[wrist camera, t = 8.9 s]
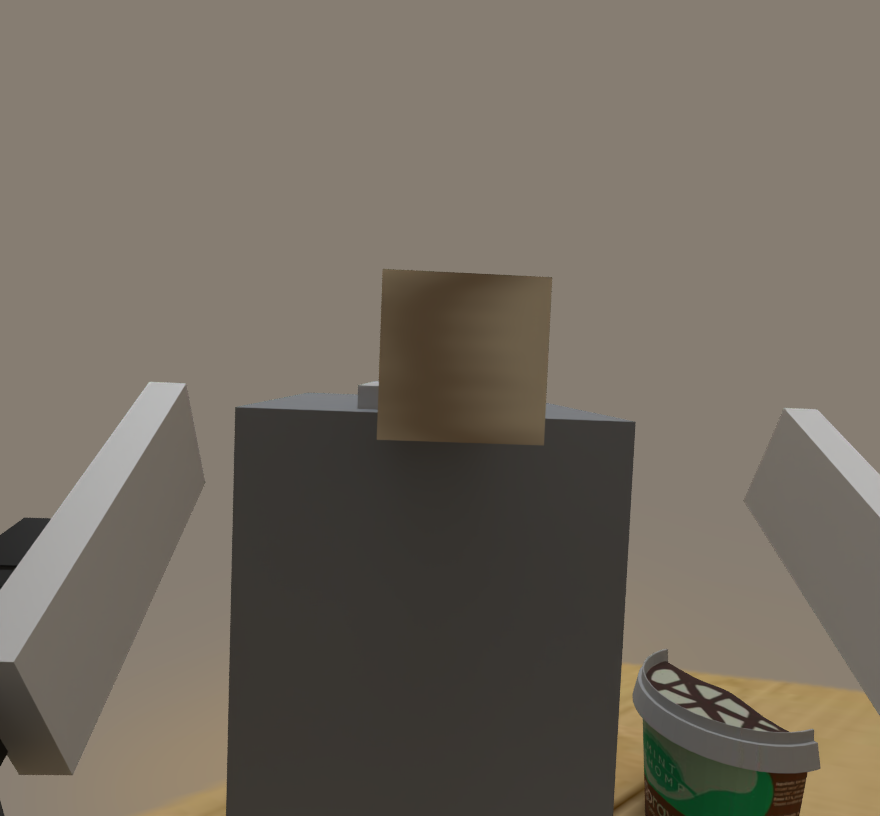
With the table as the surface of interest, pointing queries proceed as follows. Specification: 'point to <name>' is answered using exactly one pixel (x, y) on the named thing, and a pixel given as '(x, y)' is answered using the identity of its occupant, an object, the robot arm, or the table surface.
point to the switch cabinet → (424, 615)
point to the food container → (715, 750)
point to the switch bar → (463, 357)
